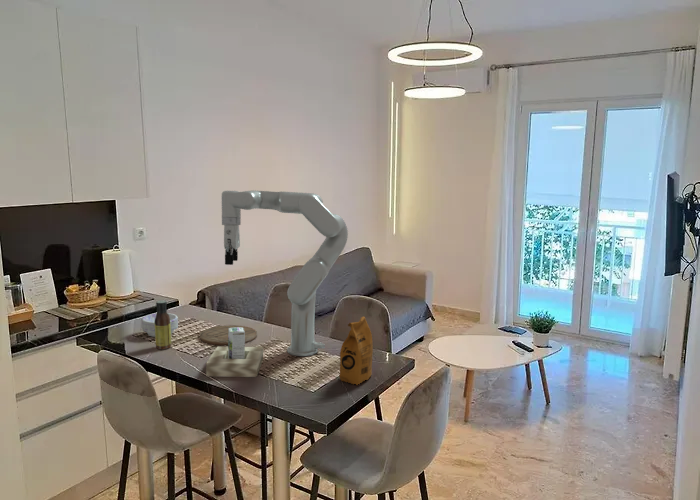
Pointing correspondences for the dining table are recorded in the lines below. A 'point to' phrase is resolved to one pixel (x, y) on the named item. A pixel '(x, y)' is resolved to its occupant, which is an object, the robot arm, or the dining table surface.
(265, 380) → the dining table surface
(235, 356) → the syrup box
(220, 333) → the trivet
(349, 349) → the coffee package
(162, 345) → the sauce bottle
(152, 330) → the paper bowls
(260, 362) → the socket block
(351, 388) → the dining table surface
